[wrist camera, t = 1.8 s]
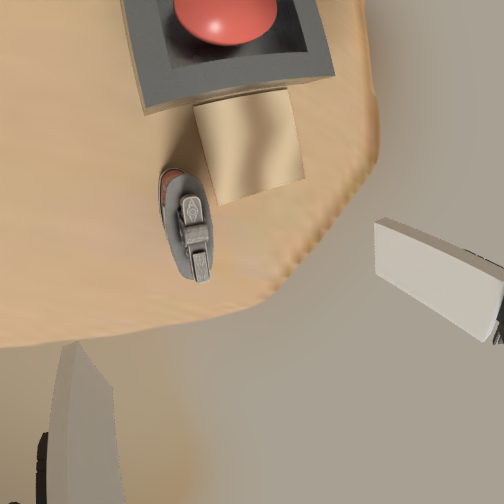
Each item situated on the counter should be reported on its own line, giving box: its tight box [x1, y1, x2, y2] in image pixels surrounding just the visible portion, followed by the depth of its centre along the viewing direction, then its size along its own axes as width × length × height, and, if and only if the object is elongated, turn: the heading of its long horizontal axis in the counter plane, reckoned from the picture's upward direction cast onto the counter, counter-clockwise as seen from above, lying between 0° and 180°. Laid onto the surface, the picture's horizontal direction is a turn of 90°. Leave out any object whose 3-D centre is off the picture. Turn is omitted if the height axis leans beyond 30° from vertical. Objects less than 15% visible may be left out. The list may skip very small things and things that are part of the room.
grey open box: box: [120, 0, 335, 116], centre depth 19 cm, size 17×17×6 cm
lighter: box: [158, 167, 213, 284], centre depth 23 cm, size 8×3×10 cm, turn 4°
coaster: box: [192, 89, 305, 206], centre depth 27 cm, size 10×10×1 cm
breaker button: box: [173, 0, 277, 46], centre depth 17 cm, size 9×9×1 cm
